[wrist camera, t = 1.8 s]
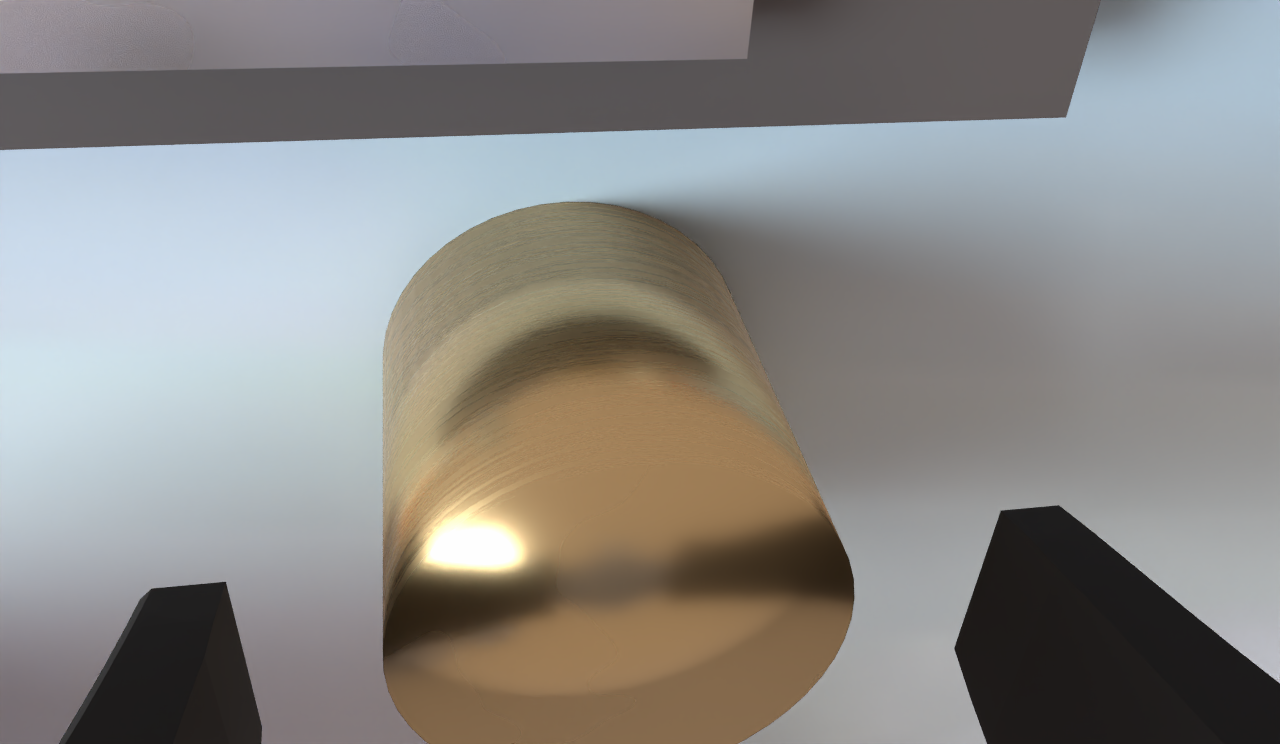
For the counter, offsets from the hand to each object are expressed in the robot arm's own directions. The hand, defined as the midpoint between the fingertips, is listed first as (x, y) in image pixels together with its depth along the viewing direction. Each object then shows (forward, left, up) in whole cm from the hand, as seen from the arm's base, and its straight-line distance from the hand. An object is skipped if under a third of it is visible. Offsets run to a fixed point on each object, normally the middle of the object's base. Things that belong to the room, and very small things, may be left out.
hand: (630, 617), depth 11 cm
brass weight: (0, 0, -4) cm, 4 cm away
